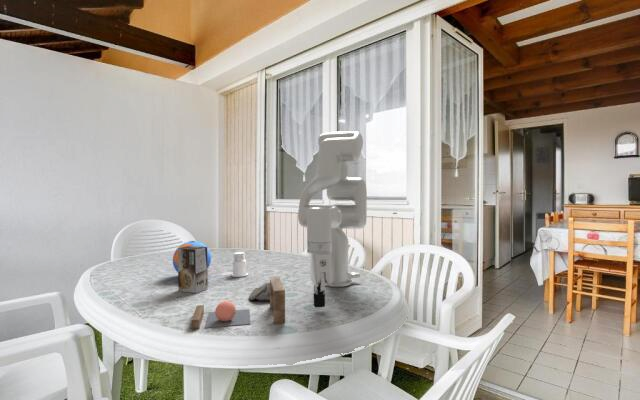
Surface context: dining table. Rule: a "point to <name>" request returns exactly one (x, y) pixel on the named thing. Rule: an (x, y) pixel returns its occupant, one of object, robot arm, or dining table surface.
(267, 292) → the fossilized seashell
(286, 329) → the dining table surface
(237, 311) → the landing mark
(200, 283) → the coffee box
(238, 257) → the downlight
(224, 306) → the ball
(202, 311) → the strip
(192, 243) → the treat dispenser ball
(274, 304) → the bridge
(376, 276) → the dining table surface
